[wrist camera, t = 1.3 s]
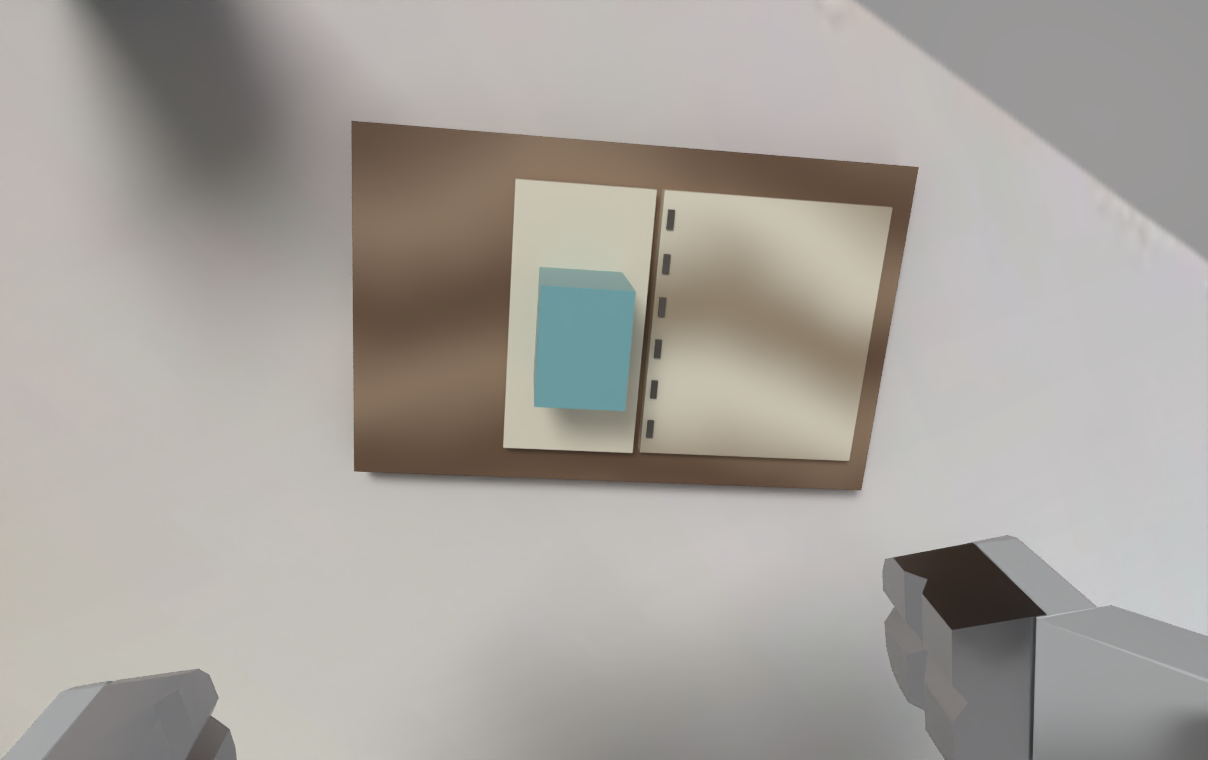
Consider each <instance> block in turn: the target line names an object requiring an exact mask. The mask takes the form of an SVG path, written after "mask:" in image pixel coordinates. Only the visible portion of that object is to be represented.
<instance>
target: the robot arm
mask: <svg viewBox="0 0 1208 760" xmlns="http://www.w3.org/2000/svg"><path fill="white" fill-rule="evenodd" d="M882 573H883V591H884V592H885V594H886V595H887V596H888V598H889V599H890V601H891V602H892V603H893V605H894V606H895V607H894V608H893V610H892V611H891V613H890V614H889V616H888V618H887V619H886V621H885V622H884V623H885V636H886V647H887V652H888V656H889V660H890V664H891V668H892V671H893V673H894V676H895V678H896V680H897V683H898V685H899V687H900V689H901V690H902V692H903V694H904V695H905V697H906V699H907V700H908V702H909V703H911V704H913V705H915V706H917V707H919V708H921V709H923V710H925V723H926V731H927V732H928V734H929V736H930V737H931V739H932V740H933V742H934V743H935V745H936V747H937V748H938V750H939V751H940V753H941V754H942V756H943V758H944V759H945V760H1208V636H1205V635H1202V634H1199V633H1196V632H1193V631H1190V630H1187V629H1184V628H1180V627H1177V626H1174V625H1171V624H1168V623H1165V622H1162V621H1159V620H1156V619H1153V618H1149V617H1146V616H1143V615H1140V614H1137V613H1134V612H1131V611H1128V610H1125V609H1121V608H1118V607H1115V606H1112V605H1110V606H1103V607H1097V606H1096V605H1095V604H1093V603H1092V602H1091V601H1090V600H1089V599H1088V598H1086V597H1085V596H1084V595H1083V594H1082V593H1081V592H1079V591H1078V590H1077V589H1076V588H1075V587H1074V586H1073V585H1071V584H1070V583H1069V582H1068V581H1067V580H1066V579H1064V578H1063V577H1062V576H1061V575H1060V574H1059V573H1057V572H1056V571H1055V570H1054V569H1053V568H1052V567H1051V566H1049V565H1048V564H1047V563H1046V562H1045V561H1044V560H1042V559H1041V558H1040V557H1039V556H1038V555H1037V554H1035V553H1034V552H1033V551H1032V550H1031V549H1030V548H1028V547H1027V546H1026V545H1025V544H1024V543H1023V542H1022V541H1020V540H1019V539H1018V538H1016V537H1012V536H1009V535H1006V536H1001V537H996V538H991V539H986V540H981V541H976V542H971V543H967V544H963V545H957V546H952V547H947V548H941V549H936V550H931V551H925V552H920V553H914V554H909V555H904V556H898V557H893V558H888V559H885V561H884V566H883V571H882ZM218 698H219V697H218V695H217V692H216V690H215V687H214V685H213V682H212V680H211V677H210V675H209V674H207V673H205V672H204V671H202V670H200V669H192V670H185V671H178V672H171V673H164V674H157V675H150V676H143V677H135V678H128V679H121V680H116V681H106V682H100V683H94V684H88V685H83V686H77V687H73V688H70V689H68V690H65V691H62V692H60V694H59V695H58V696H57V697H56V698H55V699H54V700H53V702H52V703H51V704H50V705H49V706H48V707H47V708H46V710H45V711H44V712H43V713H42V714H41V715H40V716H39V718H38V719H37V720H36V721H35V722H34V723H33V724H32V726H31V727H30V728H29V729H28V730H27V731H26V732H25V734H24V735H23V736H22V737H21V738H20V739H19V740H18V741H17V743H16V744H15V745H14V746H13V747H12V748H11V749H10V751H9V752H8V753H7V754H6V755H5V756H4V757H3V759H2V760H237V758H236V749H235V744H234V741H233V738H232V735H231V732H230V729H229V728H227V727H226V726H225V725H223V724H222V723H220V722H219V721H218V720H216V719H215V718H214V717H212V716H211V714H212V712H213V710H214V708H215V705H216V703H217V701H218Z"/></svg>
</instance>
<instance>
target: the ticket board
mask: <svg viewBox="0 0 1208 760" xmlns="http://www.w3.org/2000/svg"><path fill="white" fill-rule="evenodd" d="M917 173H918V167H911V166H898V165H886V164H874V163H861V162H849V161H837V160H825V159H812V158H800V157H788V156H775V155H763V154H751V153H739V152H726V151H714V150H702V149H689V148H677V147H665V146H653V145H640V144H628V143H616V142H603V141H591V140H579V139H567V138H554V137H542V136H530V135H517V134H505V133H493V132H481V131H468V130H456V129H444V128H431V127H419V126H407V125H395V124H382V123H370V122H358V121H352V238H353V369H354V471H358V472H385V473H412V474H439V475H466V476H493V477H520V478H547V479H574V480H601V481H628V482H655V483H682V484H709V485H736V486H763V487H790V488H817V489H844V490H861V488H862V483H863V477H864V471H865V466H866V460H867V454H868V449H869V443H870V438H871V432H872V426H873V421H874V415H875V409H876V404H877V398H878V393H879V387H880V381H881V376H882V370H883V364H884V359H885V353H886V348H887V342H888V336H889V331H890V325H891V319H892V314H893V308H894V303H895V297H896V291H897V286H898V280H899V274H900V269H901V263H902V257H903V252H904V246H905V241H906V235H907V229H908V224H909V218H910V212H911V207H912V201H913V196H914V190H915V184H916V179H917ZM516 178H517V179H530V180H543V181H556V182H569V183H583V184H596V185H609V186H622V187H635V188H649V189H656V190H657V195H656V206H655V217H654V227H653V238H652V249H651V260H650V271H649V281H648V292H647V303H646V314H645V324H644V335H643V346H642V357H641V367H640V378H639V389H638V400H637V411H636V421H635V432H634V443H633V453H621V452H596V451H572V450H547V449H523V448H503V440H504V418H505V396H506V375H507V353H508V331H509V310H510V288H511V266H512V244H513V223H514V201H515V179H516Z"/></svg>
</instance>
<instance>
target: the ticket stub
mask: <svg viewBox="0 0 1208 760" xmlns="http://www.w3.org/2000/svg"><path fill="white" fill-rule="evenodd" d="M656 195H657V190H656V189H649V188H635V187H622V186H609V185H596V184H583V183H569V182H556V181H543V180H530V179H517V178H516V179H515V201H514V223H513V244H512V266H511V288H510V310H509V331H508V353H507V375H506V396H505V418H504V440H503V448H523V449H547V450H572V451H596V452H621V453H633V443H634V432H635V421H636V411H637V400H638V389H639V378H640V367H641V357H642V346H643V335H644V324H645V314H646V303H647V292H648V281H649V271H650V260H651V249H652V238H653V227H654V217H655V206H656Z"/></svg>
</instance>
